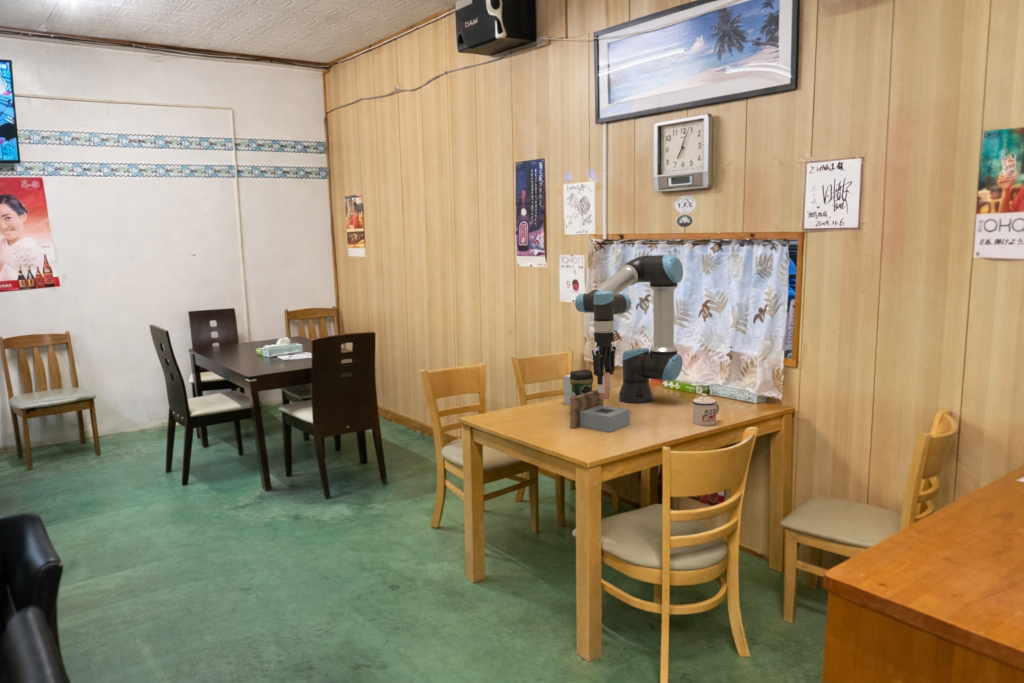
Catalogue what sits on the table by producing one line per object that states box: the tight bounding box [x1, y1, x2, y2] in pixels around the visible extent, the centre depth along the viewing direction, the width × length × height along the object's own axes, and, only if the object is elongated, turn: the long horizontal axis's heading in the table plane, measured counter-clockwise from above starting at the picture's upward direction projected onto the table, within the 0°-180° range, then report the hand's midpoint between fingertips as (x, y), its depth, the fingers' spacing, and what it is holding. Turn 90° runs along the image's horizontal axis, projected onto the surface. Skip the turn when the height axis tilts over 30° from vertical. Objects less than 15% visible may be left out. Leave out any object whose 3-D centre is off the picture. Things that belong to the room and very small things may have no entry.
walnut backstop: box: [569, 389, 604, 429], centre depth 285 cm, size 20×2×12 cm, turn 139°
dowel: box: [599, 371, 611, 400], centre depth 278 cm, size 4×4×10 cm
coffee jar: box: [569, 369, 594, 398], centre depth 300 cm, size 10×8×19 cm
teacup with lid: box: [692, 393, 720, 427], centre depth 280 cm, size 12×9×12 cm
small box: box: [562, 374, 572, 407], centre depth 319 cm, size 8×6×13 cm
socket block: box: [579, 405, 631, 433], centre depth 280 cm, size 14×14×6 cm
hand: (604, 391), depth 278 cm, fingers closed on dowel, 3 cm apart
